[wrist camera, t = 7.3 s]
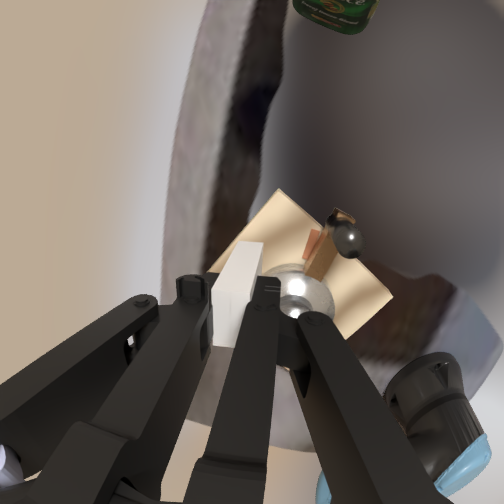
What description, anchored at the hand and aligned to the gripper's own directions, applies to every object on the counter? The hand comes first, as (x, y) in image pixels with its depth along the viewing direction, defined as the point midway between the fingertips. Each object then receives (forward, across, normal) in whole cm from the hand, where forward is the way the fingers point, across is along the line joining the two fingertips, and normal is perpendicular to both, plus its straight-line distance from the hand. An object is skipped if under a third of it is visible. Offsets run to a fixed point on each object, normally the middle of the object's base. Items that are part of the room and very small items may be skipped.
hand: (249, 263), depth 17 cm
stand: (+17, +4, -10) cm, 21 cm away
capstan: (+15, +5, -7) cm, 17 cm away
